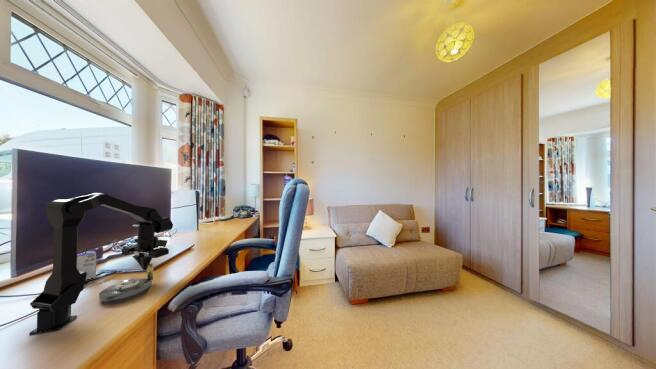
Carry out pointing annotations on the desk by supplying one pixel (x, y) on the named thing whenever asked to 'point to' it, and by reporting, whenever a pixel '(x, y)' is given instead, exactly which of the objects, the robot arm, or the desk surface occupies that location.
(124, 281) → the cover
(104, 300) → the turntable
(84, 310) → the desk surface
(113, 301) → the turntable base
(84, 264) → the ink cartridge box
